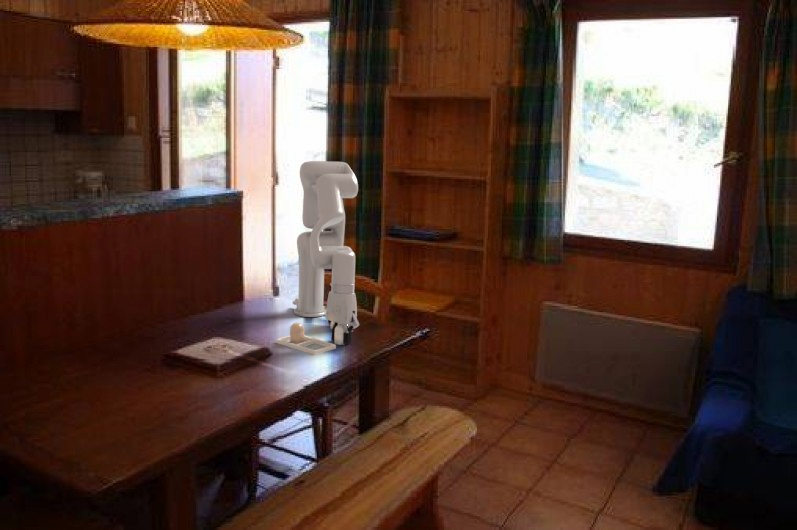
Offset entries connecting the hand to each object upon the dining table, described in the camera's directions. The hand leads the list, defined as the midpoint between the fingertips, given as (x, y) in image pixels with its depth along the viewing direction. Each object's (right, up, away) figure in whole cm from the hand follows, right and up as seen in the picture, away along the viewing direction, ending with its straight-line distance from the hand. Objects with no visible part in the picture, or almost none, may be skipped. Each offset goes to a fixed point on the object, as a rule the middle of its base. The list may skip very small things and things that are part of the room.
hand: (341, 341), depth 239 cm
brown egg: (-14, -1, -2) cm, 14 cm away
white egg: (0, -1, 0) cm, 1 cm away
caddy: (-11, -2, -5) cm, 12 cm away
